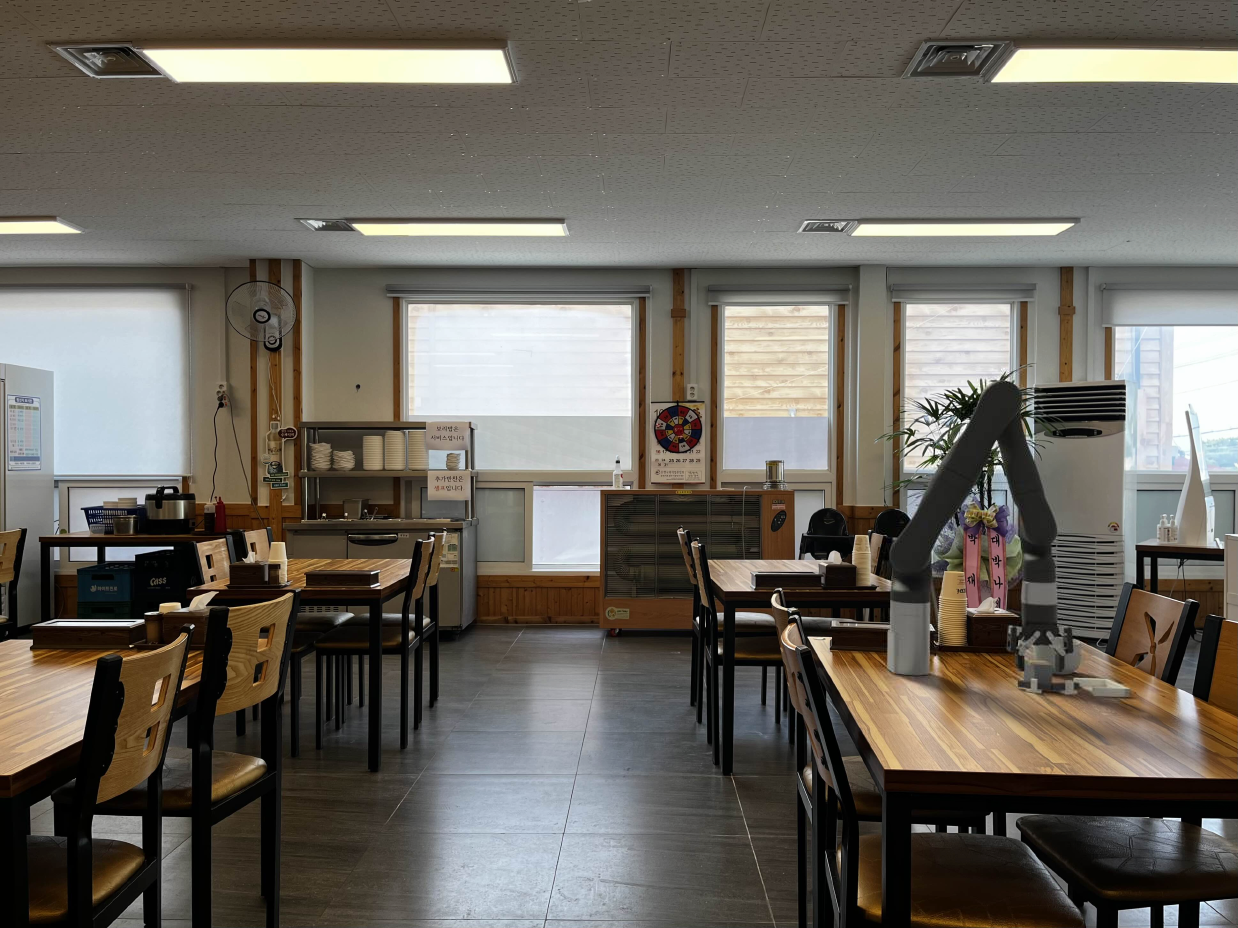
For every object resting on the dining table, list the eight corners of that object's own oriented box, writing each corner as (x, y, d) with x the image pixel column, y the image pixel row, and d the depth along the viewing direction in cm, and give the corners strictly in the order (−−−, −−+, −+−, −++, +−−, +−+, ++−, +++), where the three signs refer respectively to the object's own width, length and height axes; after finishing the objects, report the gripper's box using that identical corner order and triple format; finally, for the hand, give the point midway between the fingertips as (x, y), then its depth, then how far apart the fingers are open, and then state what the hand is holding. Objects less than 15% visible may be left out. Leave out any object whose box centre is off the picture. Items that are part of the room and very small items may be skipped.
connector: (1034, 686, 208) (1034, 663, 208) (1023, 680, 214) (1023, 658, 214) (1052, 686, 208) (1052, 664, 208) (1041, 680, 214) (1041, 659, 214)
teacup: (1089, 677, 218) (1089, 644, 219) (1043, 676, 219) (1044, 643, 219) (1062, 665, 232) (1062, 634, 232) (1019, 664, 233) (1019, 633, 233)
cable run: (1023, 690, 201) (1023, 683, 201) (1015, 685, 205) (1015, 679, 205) (1083, 691, 200) (1083, 685, 200) (1074, 687, 205) (1074, 680, 205)
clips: (1029, 693, 200) (1029, 680, 200) (1019, 687, 206) (1019, 675, 206) (1079, 694, 200) (1079, 681, 200) (1067, 688, 205) (1067, 676, 205)
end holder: (1094, 696, 199) (1094, 687, 199) (1073, 685, 209) (1073, 677, 209) (1129, 696, 198) (1129, 688, 198) (1106, 686, 208) (1106, 678, 208)
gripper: (1014, 603, 208) (1015, 674, 207) (1078, 603, 207) (1078, 674, 206) (1002, 599, 215) (1002, 667, 215) (1063, 599, 214) (1064, 668, 214)
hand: (1040, 671), depth 211 cm, fingers open, 8 cm apart
